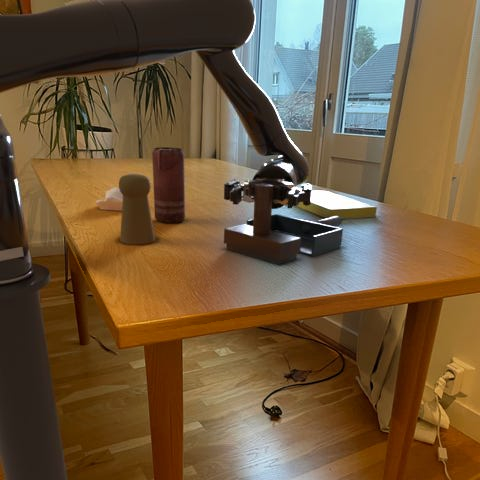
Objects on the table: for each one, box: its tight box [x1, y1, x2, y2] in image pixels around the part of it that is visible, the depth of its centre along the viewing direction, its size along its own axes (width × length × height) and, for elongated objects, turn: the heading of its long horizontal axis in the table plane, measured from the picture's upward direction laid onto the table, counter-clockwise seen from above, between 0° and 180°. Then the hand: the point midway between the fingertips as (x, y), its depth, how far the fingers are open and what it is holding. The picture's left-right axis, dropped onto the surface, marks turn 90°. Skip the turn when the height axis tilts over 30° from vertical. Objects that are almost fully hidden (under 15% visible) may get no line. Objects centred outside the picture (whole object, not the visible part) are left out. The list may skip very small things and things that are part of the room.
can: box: [151, 146, 186, 224], centre depth 94 cm, size 6×6×14 cm
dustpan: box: [246, 213, 344, 257], centre depth 88 cm, size 19×15×3 cm
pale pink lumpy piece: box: [95, 187, 123, 212], centre depth 106 cm, size 10×4×10 cm
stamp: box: [223, 184, 301, 265], centre depth 75 cm, size 5×12×11 cm, turn 47°
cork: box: [118, 173, 156, 245], centre depth 81 cm, size 6×6×11 cm
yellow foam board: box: [296, 190, 378, 220], centre depth 115 cm, size 12×2×24 cm
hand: (262, 199), depth 73 cm, fingers open, 8 cm apart
